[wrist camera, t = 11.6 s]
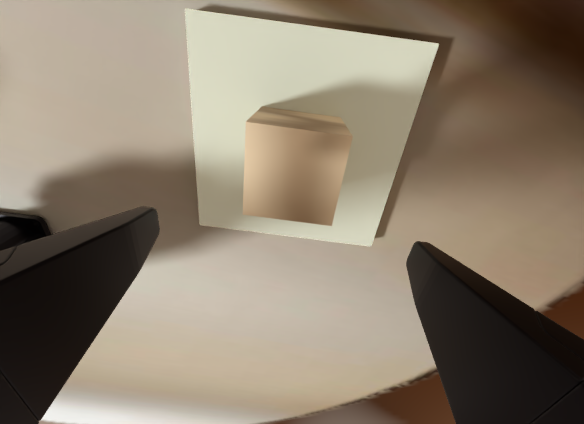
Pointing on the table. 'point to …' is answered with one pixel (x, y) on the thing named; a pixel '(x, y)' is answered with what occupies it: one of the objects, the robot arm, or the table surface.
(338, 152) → the maple cube
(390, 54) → the sage board
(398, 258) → the table surface
